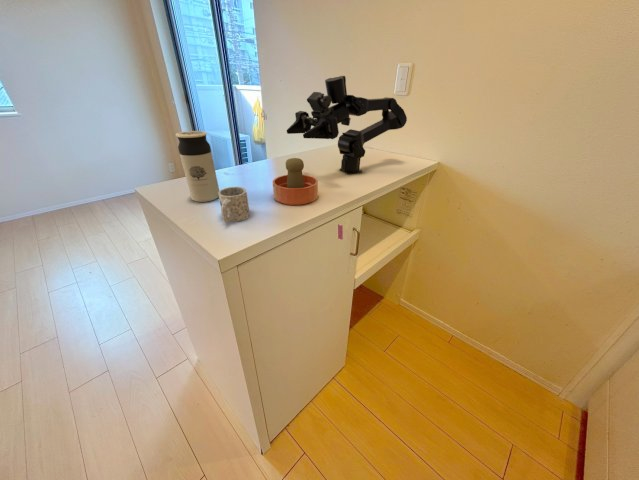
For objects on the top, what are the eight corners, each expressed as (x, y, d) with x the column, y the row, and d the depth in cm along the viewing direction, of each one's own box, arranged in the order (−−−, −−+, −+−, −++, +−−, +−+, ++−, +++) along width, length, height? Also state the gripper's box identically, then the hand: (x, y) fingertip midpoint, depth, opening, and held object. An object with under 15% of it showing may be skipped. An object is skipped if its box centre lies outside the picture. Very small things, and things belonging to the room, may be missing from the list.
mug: (229, 209, 70) (225, 186, 66) (253, 211, 69) (250, 187, 66) (212, 227, 61) (206, 201, 58) (239, 229, 61) (235, 203, 57)
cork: (308, 193, 80) (308, 157, 74) (301, 200, 75) (300, 162, 69) (290, 190, 81) (289, 155, 75) (282, 197, 76) (279, 160, 71)
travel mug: (198, 192, 80) (183, 130, 71) (224, 192, 80) (212, 131, 71) (186, 202, 74) (168, 135, 64) (214, 202, 74) (199, 136, 64)
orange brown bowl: (305, 186, 86) (305, 171, 83) (325, 200, 76) (325, 184, 73) (267, 193, 80) (266, 177, 78) (284, 209, 71) (282, 192, 68)
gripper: (310, 88, 86) (271, 104, 80) (348, 90, 74) (306, 108, 68) (317, 122, 93) (282, 139, 87) (353, 129, 81) (315, 149, 75)
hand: (294, 134), depth 79 cm, fingers open, 9 cm apart
